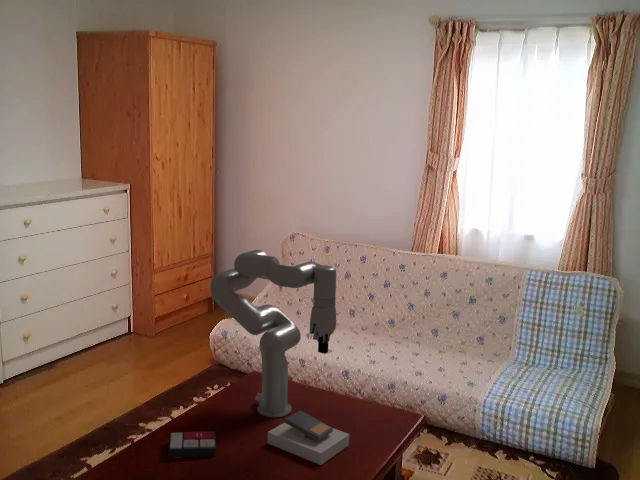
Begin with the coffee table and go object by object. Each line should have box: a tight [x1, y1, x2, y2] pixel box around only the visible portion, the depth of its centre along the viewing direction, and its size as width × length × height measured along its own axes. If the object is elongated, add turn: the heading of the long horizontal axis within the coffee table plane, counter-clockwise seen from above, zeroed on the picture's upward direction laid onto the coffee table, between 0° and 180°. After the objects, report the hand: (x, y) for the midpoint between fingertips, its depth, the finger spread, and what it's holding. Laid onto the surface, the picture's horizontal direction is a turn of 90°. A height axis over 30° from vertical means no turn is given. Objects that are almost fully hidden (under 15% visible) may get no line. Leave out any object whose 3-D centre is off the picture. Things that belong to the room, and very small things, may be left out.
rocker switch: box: [284, 410, 333, 441], centre depth 211 cm, size 14×8×2 cm, turn 54°
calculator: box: [167, 431, 217, 459], centre depth 207 cm, size 11×4×15 cm
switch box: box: [267, 422, 350, 466], centre depth 211 cm, size 22×16×6 cm
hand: (323, 352), depth 221 cm, fingers closed
